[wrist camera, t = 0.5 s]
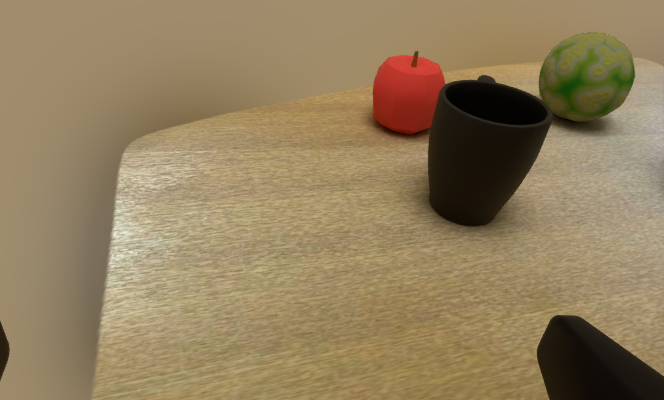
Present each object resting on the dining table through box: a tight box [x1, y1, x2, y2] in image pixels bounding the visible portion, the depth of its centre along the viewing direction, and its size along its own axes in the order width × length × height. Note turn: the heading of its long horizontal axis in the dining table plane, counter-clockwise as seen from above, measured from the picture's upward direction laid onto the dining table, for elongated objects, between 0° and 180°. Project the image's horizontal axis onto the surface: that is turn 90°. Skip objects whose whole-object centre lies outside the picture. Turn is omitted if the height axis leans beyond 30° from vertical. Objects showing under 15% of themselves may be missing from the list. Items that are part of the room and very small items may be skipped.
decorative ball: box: [539, 32, 635, 122], centre depth 55 cm, size 10×10×10 cm
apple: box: [373, 51, 445, 135], centre depth 50 cm, size 8×8×8 cm
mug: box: [428, 75, 553, 226], centre depth 39 cm, size 8×12×10 cm
